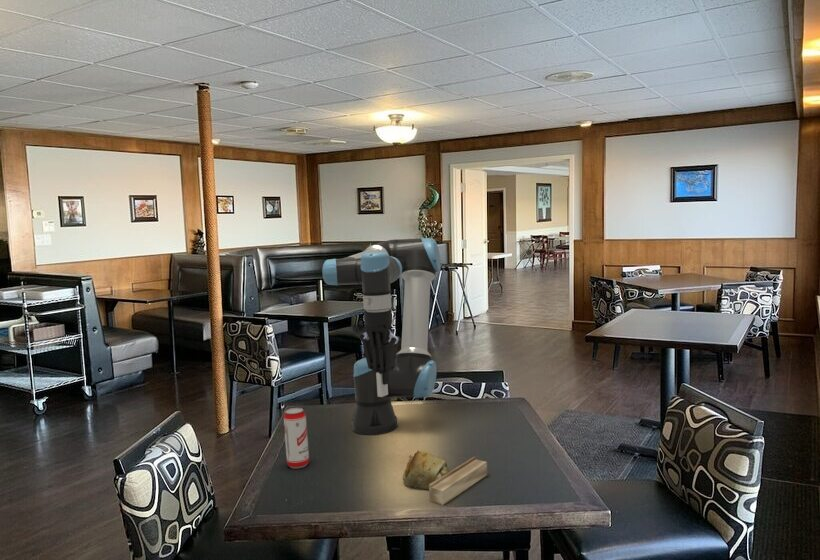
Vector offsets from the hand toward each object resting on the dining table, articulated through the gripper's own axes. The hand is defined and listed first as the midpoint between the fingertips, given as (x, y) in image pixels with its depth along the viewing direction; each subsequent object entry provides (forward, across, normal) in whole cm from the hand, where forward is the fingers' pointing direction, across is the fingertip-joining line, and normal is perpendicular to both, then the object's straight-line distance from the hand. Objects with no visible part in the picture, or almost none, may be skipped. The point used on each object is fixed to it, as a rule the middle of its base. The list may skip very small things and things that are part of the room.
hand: (382, 395), depth 169 cm
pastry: (+21, +15, -1) cm, 26 cm away
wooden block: (+20, +24, 0) cm, 32 cm away
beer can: (+21, -23, -12) cm, 33 cm away
